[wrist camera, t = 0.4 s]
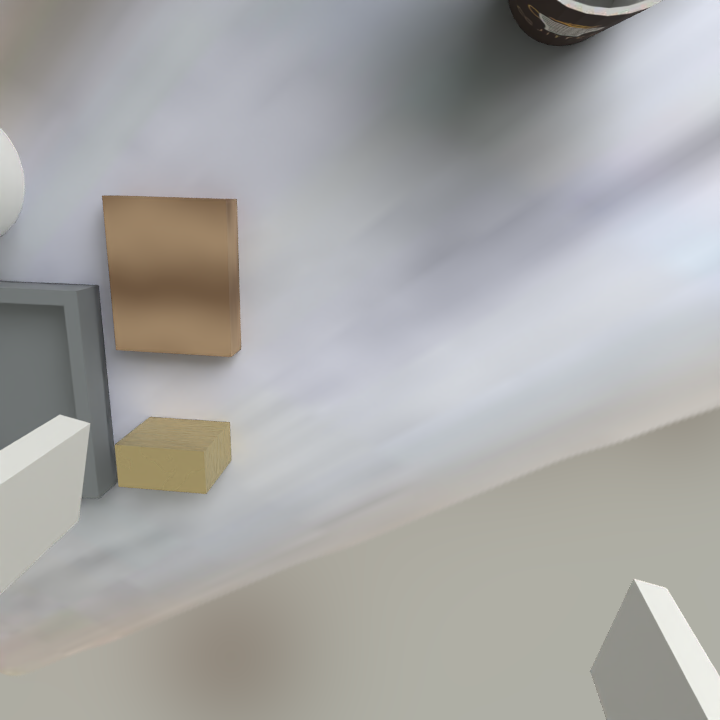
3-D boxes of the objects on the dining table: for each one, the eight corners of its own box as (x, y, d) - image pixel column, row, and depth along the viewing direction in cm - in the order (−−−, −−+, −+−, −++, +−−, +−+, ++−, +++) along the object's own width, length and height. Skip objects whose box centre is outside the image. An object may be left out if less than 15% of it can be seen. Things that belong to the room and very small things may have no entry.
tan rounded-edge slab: (122, 195, 39) (101, 195, 36) (238, 199, 38) (225, 199, 36) (134, 341, 42) (116, 350, 39) (243, 347, 41) (231, 356, 38)
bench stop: (150, 416, 42) (114, 444, 38) (229, 422, 42) (204, 451, 37) (152, 454, 43) (118, 486, 38) (231, 460, 43) (206, 494, 38)
